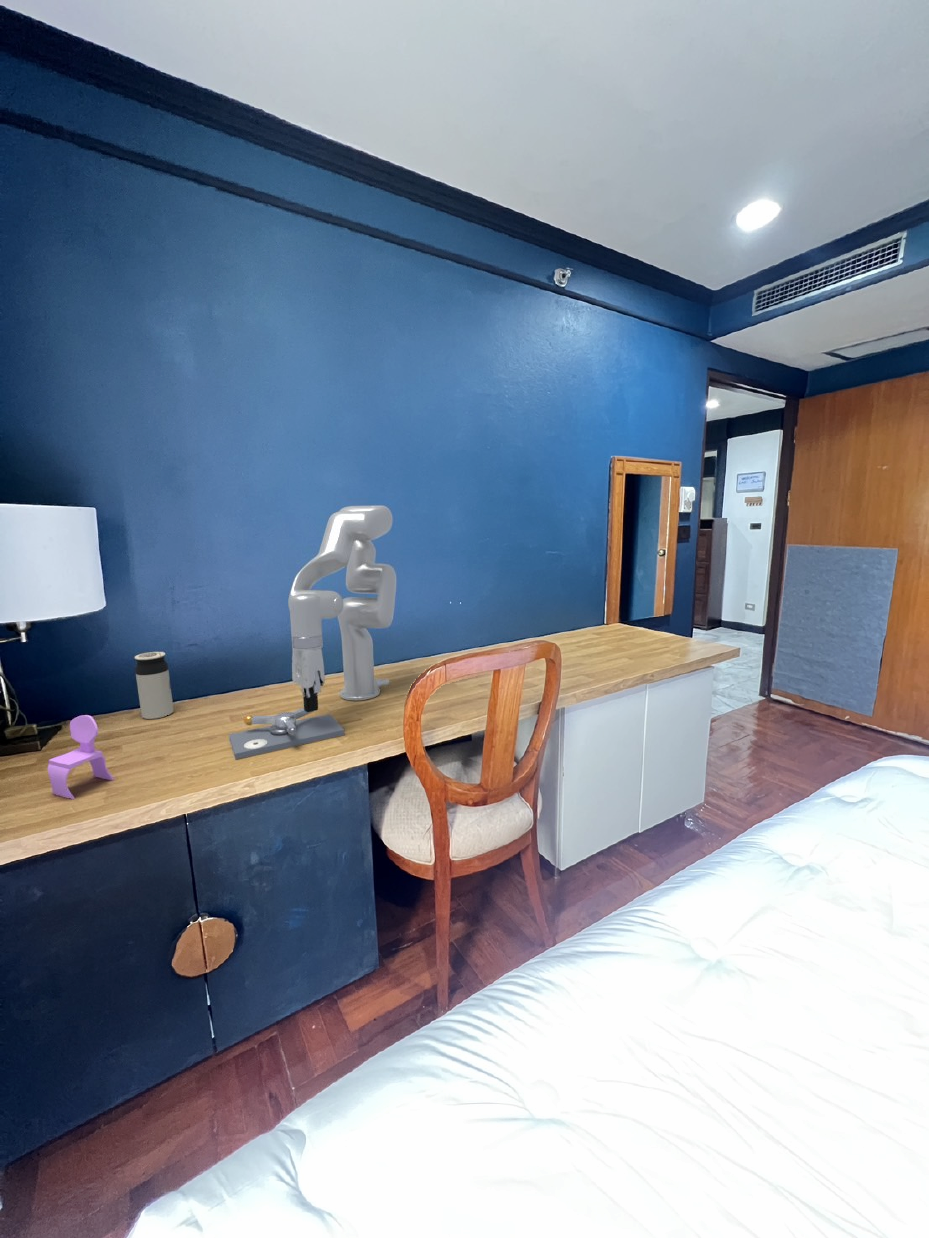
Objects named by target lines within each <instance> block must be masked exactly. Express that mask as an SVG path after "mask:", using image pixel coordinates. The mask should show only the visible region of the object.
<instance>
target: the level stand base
mask: <svg viewBox="0 0 929 1238" xmlns="http://www.w3.org/2000/svg"><path fill="white" fill-rule="evenodd" d="M271 726H272V725H268V726H263V727H258V728H253V729H249V730H244V731H240V732H234V733H233V732H232V733H229V734H228V737H229V739H228V740H229V743H230V746H231V750H232V753H233V755H234V756H233V757H234V759H235V760H240V759H245V758H250V757H254V756H258V755H259V756H260V755H263V754H264V755H265V754H268V753H273V752H276V751H281V750H285V749H290V748H294V747H298V746H302V745H303V746H304V745H308V744H312V743H316V742H319V741H321V742H322V741H325V740H329V739H333V738H339V737H342V736H345V729H344V727H342V725H341V724H340V722H338V721H337V720H336V719H335V717H334V716H333V715H332V714H331V713H328V714H324V715H318V716H314V717H313V716H312V717H308V718H303V719H296V729H297V734H296V735H294V736H291V735H289V733H287V734H282V735H275V734H271V733H270V727H271Z"/></svg>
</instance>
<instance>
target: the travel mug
mask: <svg viewBox="0 0 929 1238" xmlns="http://www.w3.org/2000/svg"><path fill="white" fill-rule="evenodd" d="M165 656H166V653H165V652H164V651H152V652H151V651H150V652H144V653H140V654H137V655H135V656H134V659H135V660H136V665H135V667H134V670H135V671H134V673H135V677H136V684H137V692H138V693H137V694H138V700H139V706H140V713H141V718H142V719H146V720H156V719H162V718H165V717H168V716H170V715H171V714H173V712H174V711H175V710H174V704H173V703H174V702H173V696H172V694H173V693H172V689H171V680H170V672H169V664H168V661H166V660H165ZM167 715H168V716H167Z"/></svg>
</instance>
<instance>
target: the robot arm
mask: <svg viewBox="0 0 929 1238" xmlns="http://www.w3.org/2000/svg"><path fill="white" fill-rule="evenodd" d="M392 526H393V514H392V512H391V510H390V509H389V507H387V506H385V505H349V506H345V507H342V508H341V509H339V510H338V511H337V512H334V513H332V514H331V515H330V517H329V518H328V521H327V524H326V526H325V530H324V534H323V538H322V542H321V544H320V548H319V551H318V553H317V555H316V556H315V557H313V558H312V559H311V560H309V562H307V563H306V564H305V565H304V566H303V567H302V568H301V569H300V570H299V572H298V573H297V574H296V575H295V577H294V580H293V583H292V584H291V589H290V590H289V591H290V592H289V595H288V602H287V604H288V610H289V615H290V630H291V631H290V632H291V633H290V634H291V647H292V656H291V672H292V673H291V674H292V675H291V677H292V682H293V683H294V684H296V685H297V686H300V687H301V693H302V696H303V697H302V698H303V700H302V701H303V708H304V711H306V712H312V711H314V712H315V711H316V712H317V711H318V710H319V698H318V697H319V693H321V692H322V687H323V686H324V685H325V681H326V680H325V679H326V677H325V665H324V656H323V650H322V648H324V646H323V645H324V643H323V642H324V640H323V626H322V625H323V624H322V622H323V621H322V620H330V619H334V618H336V617H337V621H338V624H339V628H340V629H339V630H340V636H341V648H342V649H341V651H342V664H343V665H342V666H343V682H344V688H343V689H341V690H340V691H339V696H340V698H342V699H343V700H345V701H346V700H347V701H354V702H355V701H365V700H371V699H374V698H376V697H377V696H379V695H380V693H381V689H380V688H381V687H383V686H384V687H385V686H389V685H390V679H388V678H387V679H383V678H378V679H377V678H375V665H374V664H375V663H374V660H375V659H374V642H373V638H372V636H371V633H370V632H369V631H368V629H387V628H389V627H390V626H391V625H392V622H393V619H394V614H395V606H396V594H397V574H396V571H395V569H394V567H393V566H391V565H390V564H387V563H386V564H385V563H376V553H377V551H376V550H377V549H376V546H375V545H374V543H373V542H372V541H374V540H377V539H378V538H381V537H382V536H384V535H386V534H388V533H389V532H390V531H391V529H392ZM345 568H346V573H345V574H346V575H345V586H346V587H345V588H346V589H347V590H348V591H349V592H351V593H353V594H360V595H361V594H362V595H364V594H368V595H377V597H367V596H364V597H363V596H350V597H345V598H342V597H343V596H342V595H341V594H339V593H338V592H336V591H334V590H319V589H312V587H313V586H314V585H315V584H316V583H317V582H319V581H320V580H321V579H323V578H325V577H327V576H329V575H332V574H335V573H337V572H339V571H341V570H343V569H345ZM312 713H313V712H312Z"/></svg>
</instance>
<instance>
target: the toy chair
mask: <svg viewBox="0 0 929 1238" xmlns="http://www.w3.org/2000/svg"><path fill="white" fill-rule="evenodd" d="M69 730H70V731H69V732H70V735H71V736H70V737H71V738H72V739H73V740H74V741H76V742H77V743H79V745H80V747H78V748H76V749H74V750H72V751H69V752H66V753H64V754H61V755H59V756H55V757H53V758H50V759H48V764H47V772H48V773H47V774H48V777H49V780H50V785H51V789H52V794H53V795H55V794H56V796H59V795H60V796H59V797H63V798H66V799H69V798H71V799H70V800H75V799H76V798H75V796H74V795H73V794H72V792H71V791H70V789H69V787H68V785H67V784H68V783H67V780H68V776H69V775H70V772H71V771H72V770H73V769H74V768H76V767H78V766H80V765H82V764H84V763H86V762H88V763H90V765H91V769H92V775H93V777H95V778H101V779H105V780H107V781H108V780H109V781H111V782H112V781H113V782H114V781H115V778H114V777H113V776H112V775H111V773H110V772H109V769H108V767H107V764H106V757H105V755H103V751H101V750H96V749H95V739H96V738H97V737H98V734H99V728H98V725H97V722H96V720H95V719H94V717H93V716H91V715H88V714H85V715H83V714H82V715H79V716H77V717H74V718H72V720H71V721H70V723H69Z"/></svg>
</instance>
